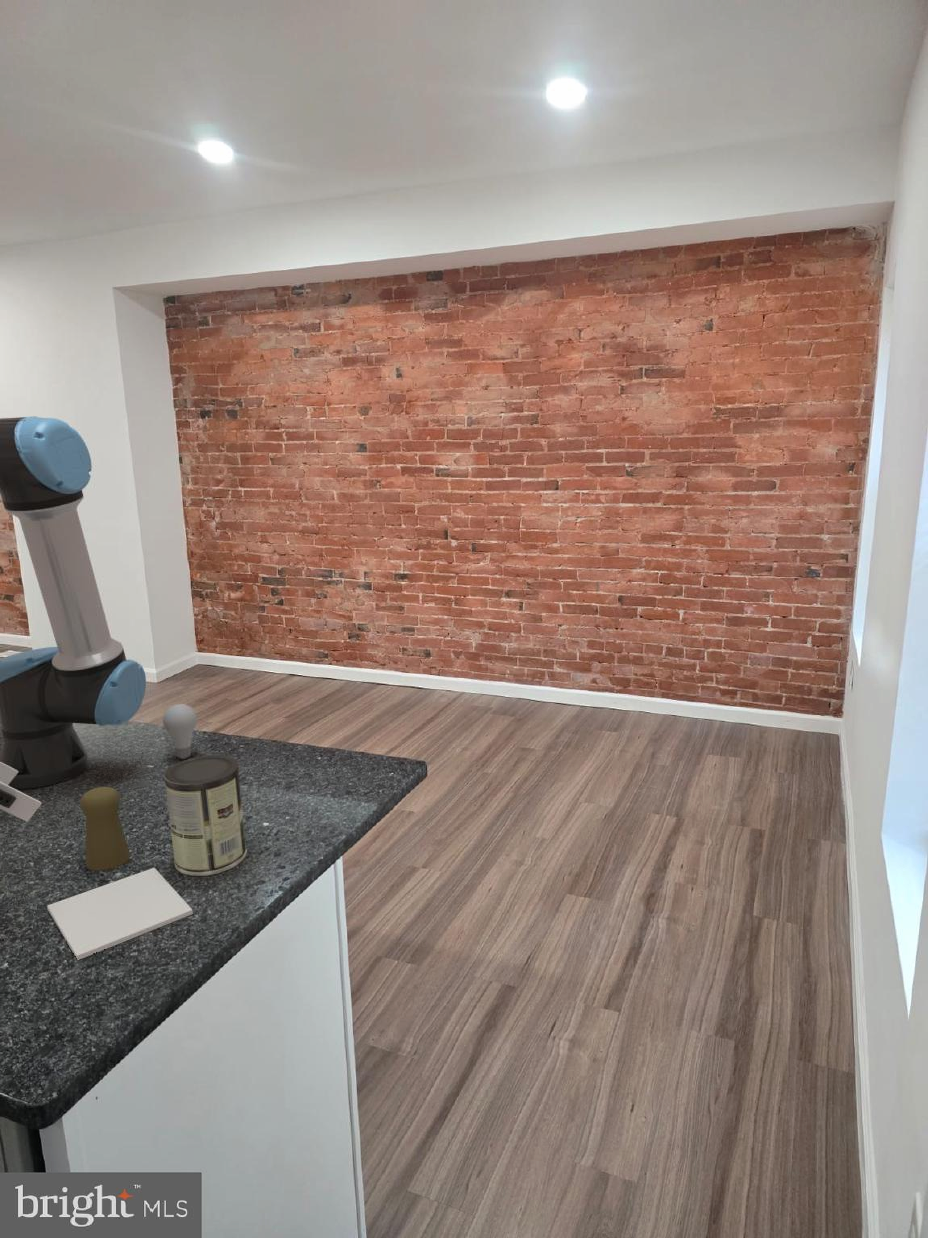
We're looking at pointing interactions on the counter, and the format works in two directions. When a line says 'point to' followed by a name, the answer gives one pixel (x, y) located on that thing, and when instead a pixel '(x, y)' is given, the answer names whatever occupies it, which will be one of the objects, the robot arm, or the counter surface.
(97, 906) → the white pad
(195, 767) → the coffee can
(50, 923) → the counter surface
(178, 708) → the lightbulb
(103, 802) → the cork
